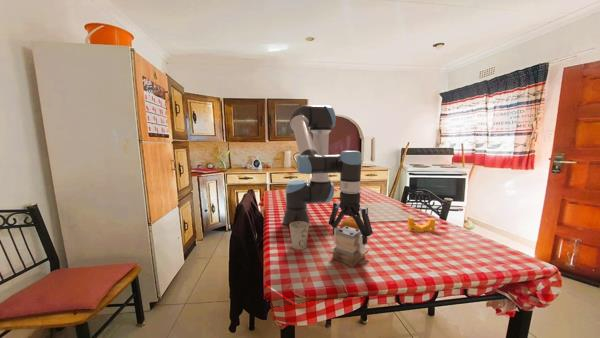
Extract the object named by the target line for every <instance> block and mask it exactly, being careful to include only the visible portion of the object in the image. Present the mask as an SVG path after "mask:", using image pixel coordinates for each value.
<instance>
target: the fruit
mask: <svg viewBox="0 0 600 338" xmlns="http://www.w3.org/2000/svg"><path fill="white" fill-rule="evenodd" d="M345 226H347V227H351V228H354V229H358V230H359V228H358V226H357V224H356V221H355V220H354V219H353V217H352V218H351V217H349V218H345V219H344V220H343V221H342V222H340V225H339V230H340V229H341V228H343V227H345Z"/></svg>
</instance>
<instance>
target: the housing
mask: <svg viewBox="0 0 600 338" xmlns="http://www.w3.org/2000/svg"><path fill="white" fill-rule="evenodd" d="M361 235H362V234H361V232H360V230H358V229H354V228H351V227H347V226H345V227H343V228H341V229H340V228H339V230H338V231H336V244H335V245H336V246H335V247H336V251H338V252H341V253H343V254H346V255H349V256H351V257H353V256H354V255H355V254H357V253H358V252H359V251H360V236H361Z"/></svg>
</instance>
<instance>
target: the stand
mask: <svg viewBox="0 0 600 338" xmlns="http://www.w3.org/2000/svg"><path fill="white" fill-rule="evenodd" d="M368 252H369V249H366V248H365V251H364V252H363V253H360V251H359V252H358V253H357V254H355V255H354V256H353V257H351V256H349V255H346V254H343V253H341V252H338V251H336V246H335V247H334V248H332V249H330V250H329V251H328V253H329V254H332V259H333V260H335V261H338V262H341V263H344V264H346V265H349V266H350V267H355V266H356V265H358V264H359V262H361V261H362V260H363V259H365V256H366V254H367V253H368Z"/></svg>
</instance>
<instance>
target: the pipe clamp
mask: <svg viewBox="0 0 600 338" xmlns="http://www.w3.org/2000/svg"><path fill="white" fill-rule="evenodd" d="M435 229H436V219H434V218H431V217H429V219H428V221H427V222H426V223H424V224H417V223H416V222H415V221H414V218H413V217H412V216H407V230H408V231H409V232H418V233H424V232H433V233H434V232H435Z"/></svg>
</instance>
